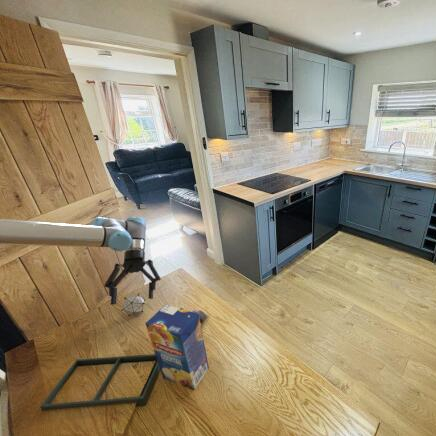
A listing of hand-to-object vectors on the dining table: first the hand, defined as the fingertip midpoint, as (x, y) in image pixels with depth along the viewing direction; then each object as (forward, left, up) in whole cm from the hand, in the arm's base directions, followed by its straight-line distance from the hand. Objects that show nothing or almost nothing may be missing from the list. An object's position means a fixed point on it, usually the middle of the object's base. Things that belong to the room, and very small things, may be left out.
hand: (132, 301), depth 97 cm
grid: (+7, -30, -6) cm, 31 cm away
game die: (0, 0, -6) cm, 6 cm away
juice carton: (+29, -28, -6) cm, 41 cm away
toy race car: (+22, -8, -6) cm, 24 cm away
